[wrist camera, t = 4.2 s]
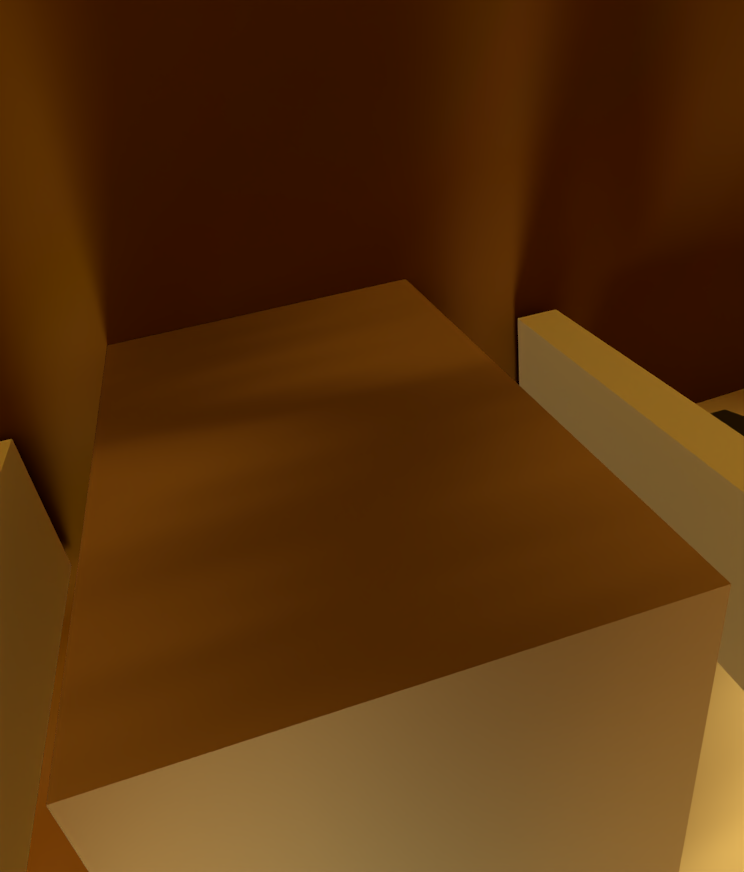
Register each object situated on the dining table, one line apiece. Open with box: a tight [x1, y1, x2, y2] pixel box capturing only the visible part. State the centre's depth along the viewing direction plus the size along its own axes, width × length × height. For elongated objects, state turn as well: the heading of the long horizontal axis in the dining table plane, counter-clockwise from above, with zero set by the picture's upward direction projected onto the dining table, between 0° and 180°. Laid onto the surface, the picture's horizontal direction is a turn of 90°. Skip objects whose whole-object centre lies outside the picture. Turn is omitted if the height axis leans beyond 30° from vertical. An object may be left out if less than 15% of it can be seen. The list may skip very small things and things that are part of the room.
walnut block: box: [46, 279, 731, 872], centre depth 10 cm, size 5×5×8 cm
